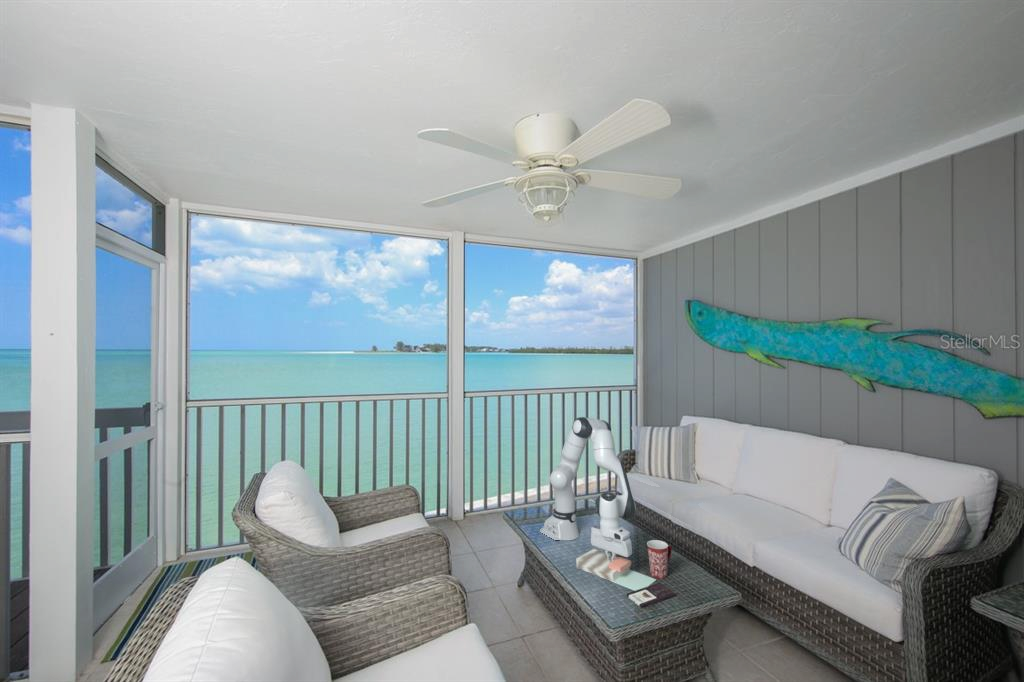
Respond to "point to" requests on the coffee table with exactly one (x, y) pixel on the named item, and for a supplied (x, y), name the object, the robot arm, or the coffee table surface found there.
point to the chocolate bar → (651, 595)
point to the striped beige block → (598, 565)
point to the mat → (634, 580)
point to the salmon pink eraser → (620, 564)
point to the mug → (658, 557)
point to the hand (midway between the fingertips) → (611, 560)
